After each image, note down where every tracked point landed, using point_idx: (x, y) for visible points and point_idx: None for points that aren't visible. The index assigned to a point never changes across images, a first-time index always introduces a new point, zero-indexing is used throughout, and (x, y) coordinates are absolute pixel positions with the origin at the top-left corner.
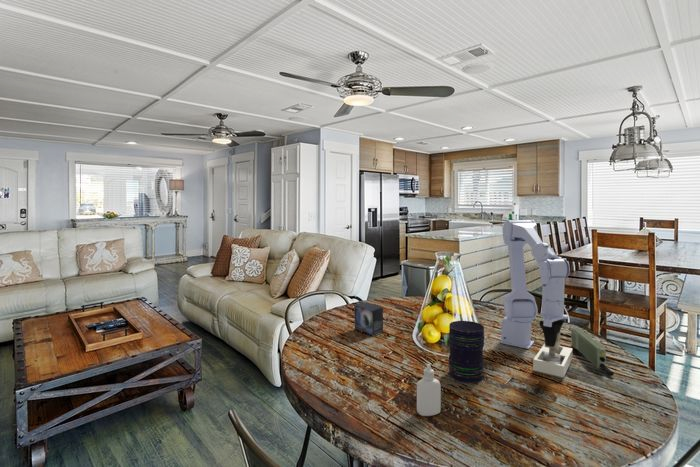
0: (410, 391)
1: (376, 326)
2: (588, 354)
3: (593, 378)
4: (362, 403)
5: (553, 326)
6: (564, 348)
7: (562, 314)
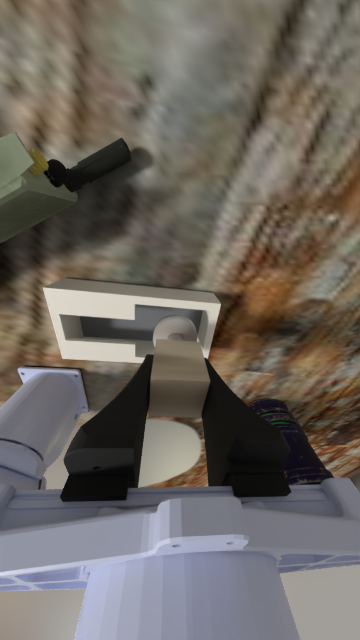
0: (322, 440)
1: None
2: (8, 230)
3: (172, 217)
4: (354, 455)
5: (280, 460)
6: (65, 310)
7: (239, 587)
